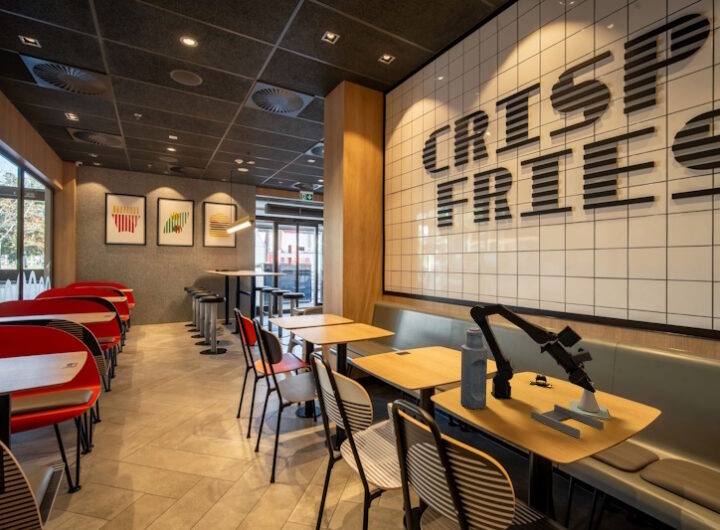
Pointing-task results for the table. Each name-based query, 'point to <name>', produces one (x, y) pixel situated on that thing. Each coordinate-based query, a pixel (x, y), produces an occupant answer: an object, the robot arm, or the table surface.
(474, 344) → the bottle
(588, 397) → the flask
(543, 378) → the black arched bracket
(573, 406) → the pad
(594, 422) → the trough
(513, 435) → the table surface
